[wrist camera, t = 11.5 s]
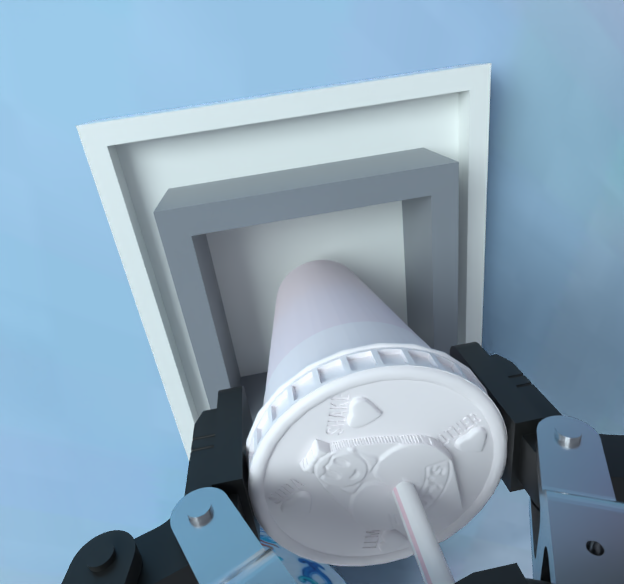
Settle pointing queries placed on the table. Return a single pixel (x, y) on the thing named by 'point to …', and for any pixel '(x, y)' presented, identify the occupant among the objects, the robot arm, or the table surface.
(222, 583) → the robot arm
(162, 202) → the white square tray
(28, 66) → the table surface
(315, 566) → the chinaware
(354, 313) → the smoothie
